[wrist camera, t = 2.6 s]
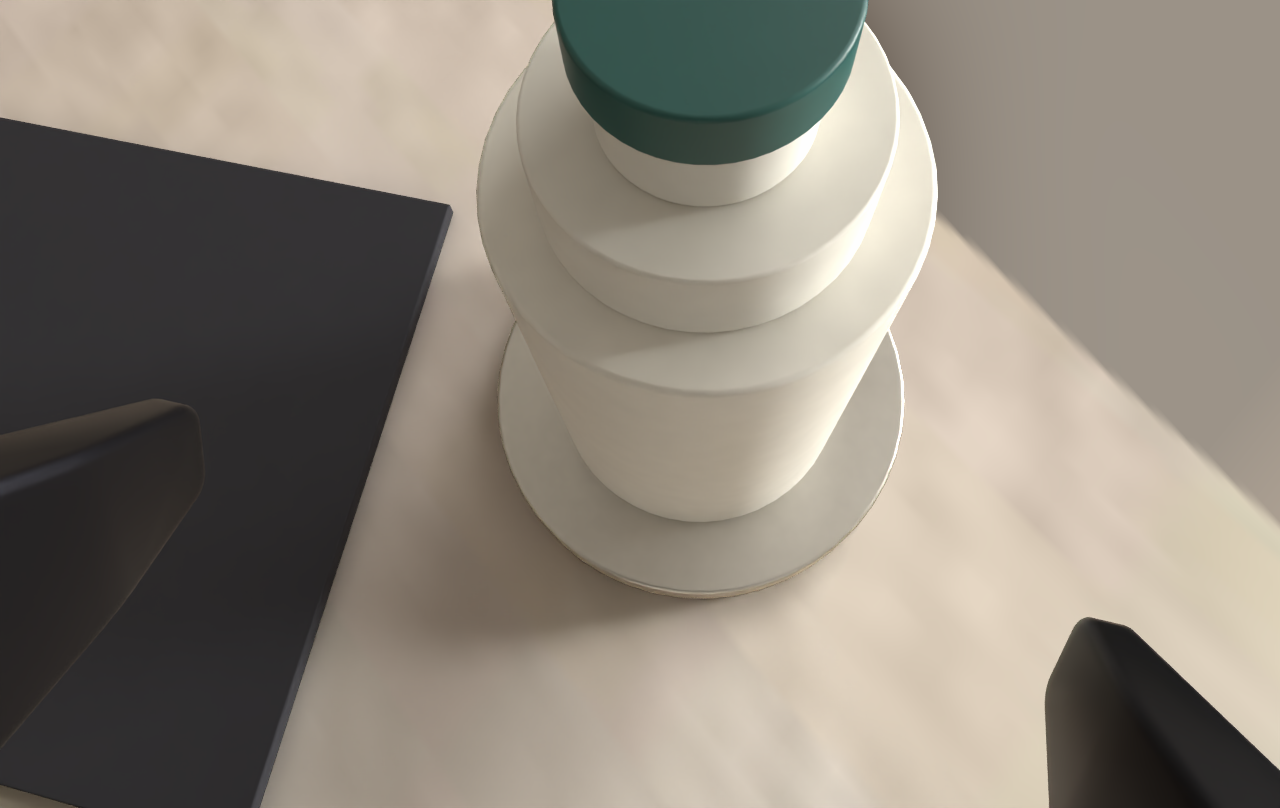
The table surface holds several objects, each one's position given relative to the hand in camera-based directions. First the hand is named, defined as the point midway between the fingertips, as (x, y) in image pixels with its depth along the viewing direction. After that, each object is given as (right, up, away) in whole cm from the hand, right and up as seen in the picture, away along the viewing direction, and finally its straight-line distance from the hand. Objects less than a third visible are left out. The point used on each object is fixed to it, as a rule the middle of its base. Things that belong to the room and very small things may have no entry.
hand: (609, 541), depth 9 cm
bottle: (+2, +2, +11) cm, 12 cm away
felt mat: (-16, +1, +13) cm, 21 cm away
